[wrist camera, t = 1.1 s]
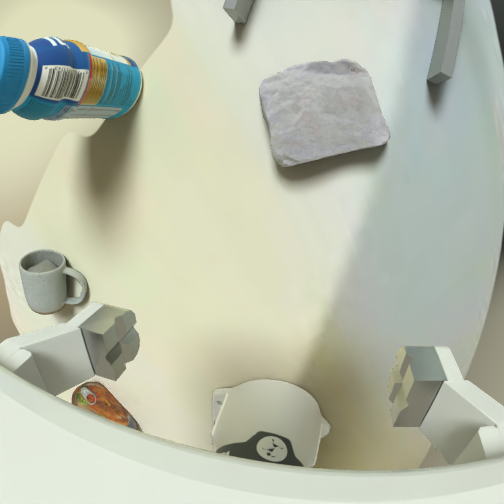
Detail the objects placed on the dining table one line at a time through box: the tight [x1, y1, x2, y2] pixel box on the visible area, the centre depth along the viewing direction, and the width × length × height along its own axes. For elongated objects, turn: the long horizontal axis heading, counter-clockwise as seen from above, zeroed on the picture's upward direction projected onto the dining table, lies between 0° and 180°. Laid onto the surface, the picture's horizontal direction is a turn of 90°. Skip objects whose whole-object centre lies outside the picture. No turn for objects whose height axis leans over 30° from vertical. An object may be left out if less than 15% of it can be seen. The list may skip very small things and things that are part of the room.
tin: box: [72, 382, 138, 430], centre depth 49 cm, size 15×3×8 cm, turn 34°
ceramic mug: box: [19, 249, 87, 315], centre depth 41 cm, size 11×8×8 cm
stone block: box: [259, 59, 390, 167], centre depth 29 cm, size 12×5×10 cm
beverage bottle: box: [0, 36, 142, 120], centre depth 24 cm, size 8×8×20 cm
